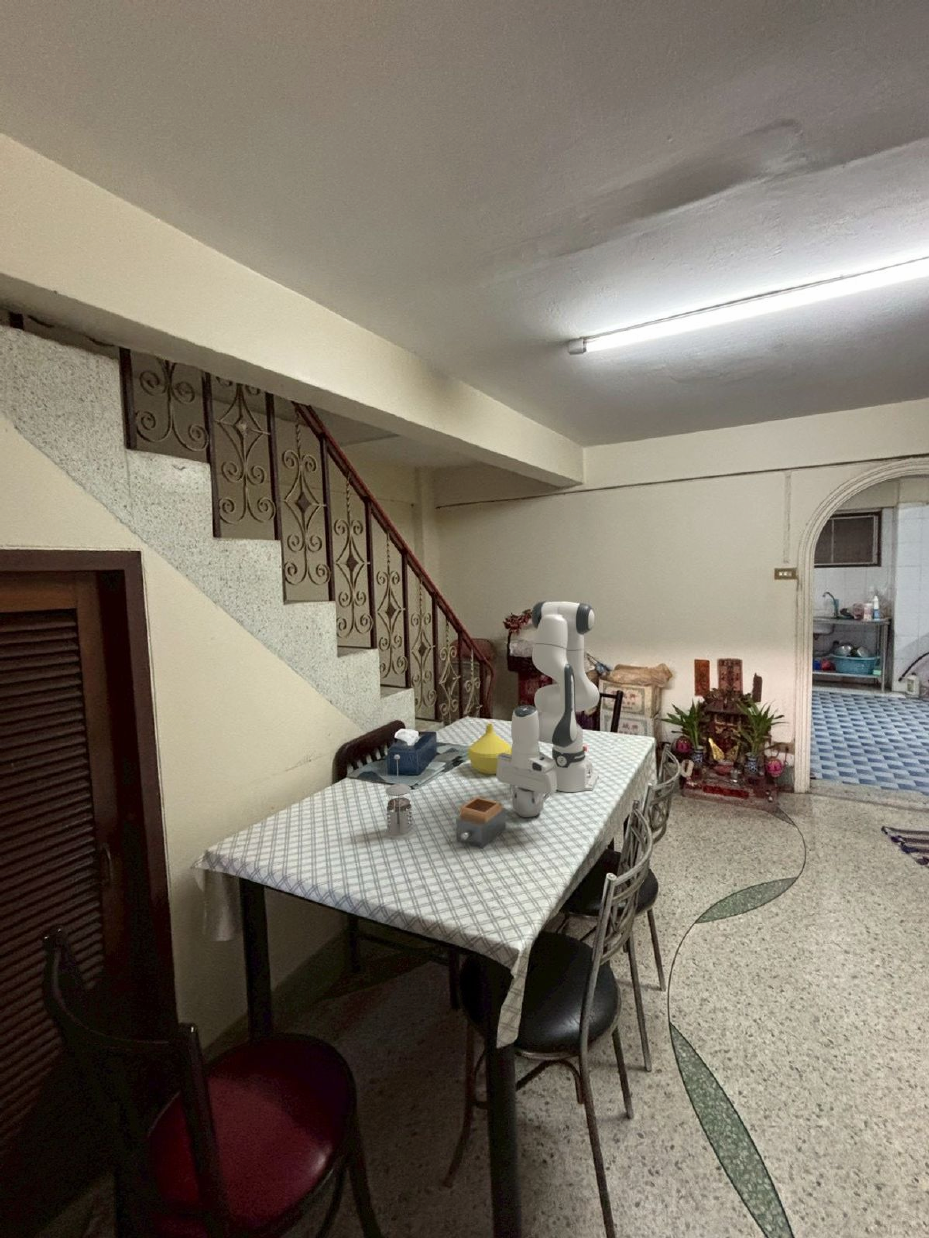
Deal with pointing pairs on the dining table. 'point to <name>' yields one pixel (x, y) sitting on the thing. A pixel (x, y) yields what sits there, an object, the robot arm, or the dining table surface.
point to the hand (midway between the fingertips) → (525, 800)
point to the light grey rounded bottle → (525, 799)
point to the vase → (487, 751)
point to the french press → (399, 811)
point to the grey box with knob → (480, 822)
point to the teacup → (534, 812)
